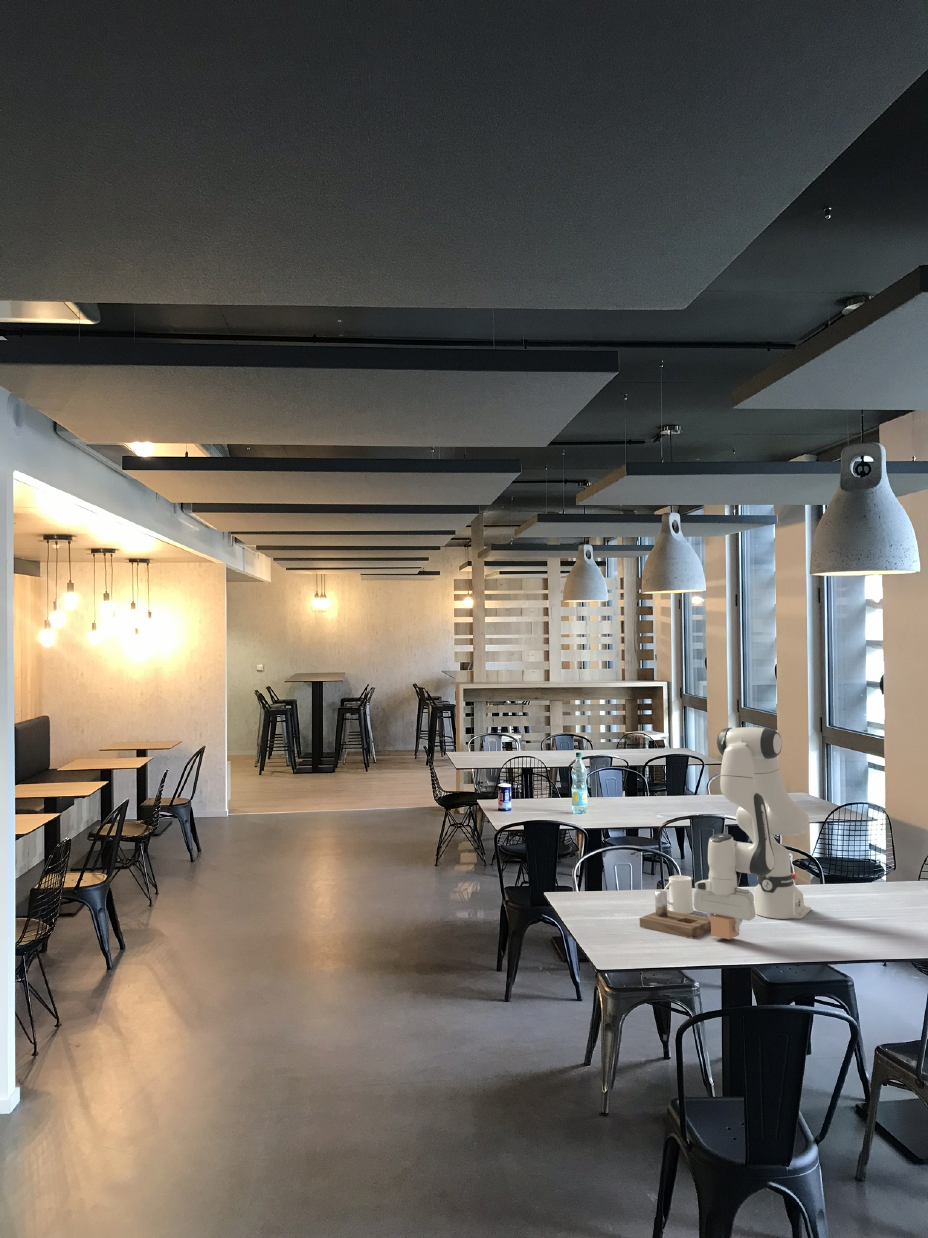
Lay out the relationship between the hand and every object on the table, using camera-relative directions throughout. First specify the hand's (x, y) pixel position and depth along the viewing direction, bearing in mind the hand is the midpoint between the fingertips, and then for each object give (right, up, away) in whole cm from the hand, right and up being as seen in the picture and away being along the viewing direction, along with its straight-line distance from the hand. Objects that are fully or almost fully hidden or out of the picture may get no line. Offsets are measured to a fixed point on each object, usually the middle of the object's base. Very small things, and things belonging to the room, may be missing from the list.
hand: (725, 929), depth 275 cm
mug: (-7, -7, +35) cm, 36 cm away
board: (-12, -5, +15) cm, 19 cm away
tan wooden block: (0, -2, 0) cm, 2 cm away
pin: (-16, -2, +19) cm, 25 cm away
